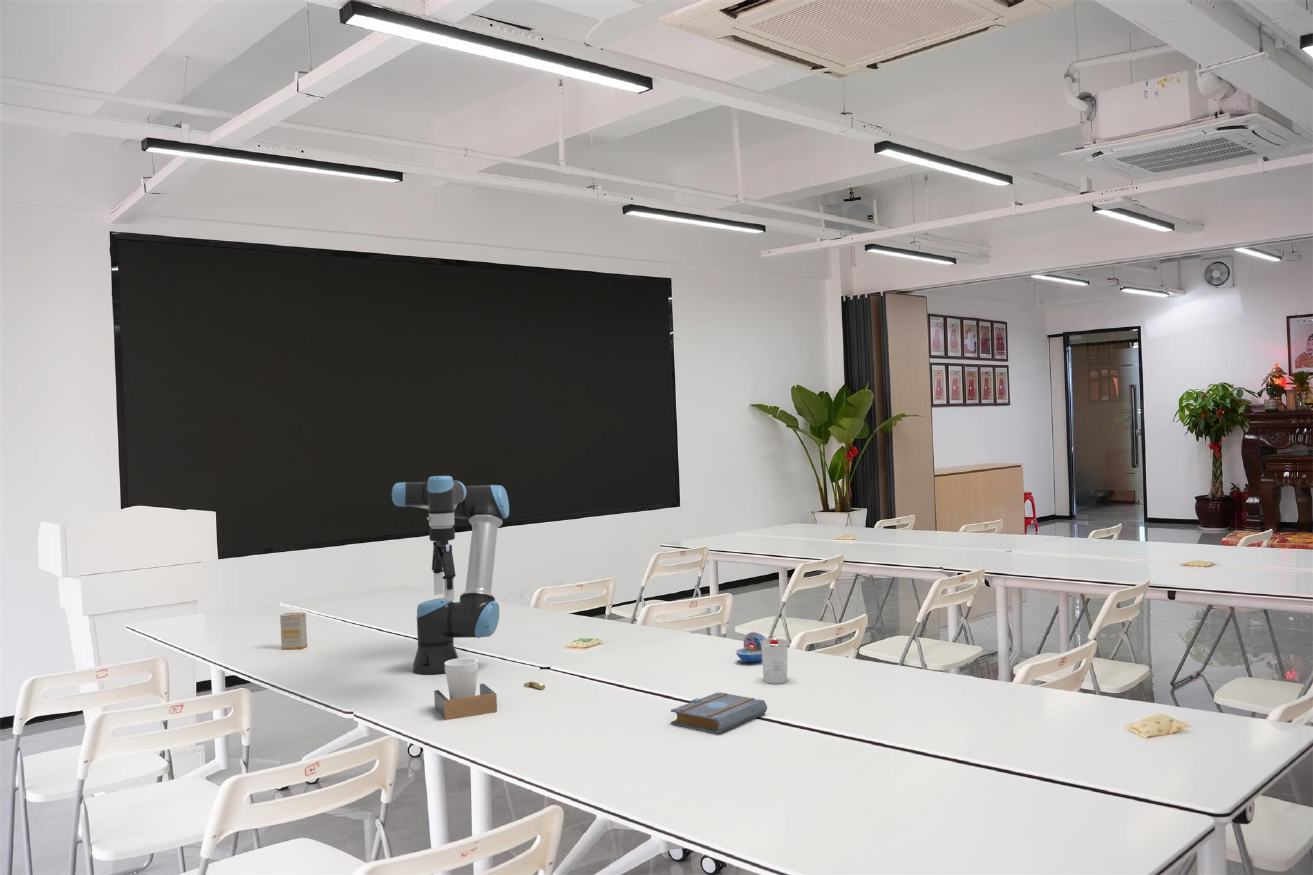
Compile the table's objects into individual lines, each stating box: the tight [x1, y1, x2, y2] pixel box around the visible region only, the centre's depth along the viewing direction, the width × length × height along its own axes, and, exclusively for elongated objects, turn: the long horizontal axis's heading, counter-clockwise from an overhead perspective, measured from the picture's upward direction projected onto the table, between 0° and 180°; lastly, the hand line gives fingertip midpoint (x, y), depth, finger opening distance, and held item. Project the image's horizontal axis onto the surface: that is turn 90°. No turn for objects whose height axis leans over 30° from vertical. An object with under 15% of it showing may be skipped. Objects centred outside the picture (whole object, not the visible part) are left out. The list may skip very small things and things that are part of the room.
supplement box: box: [279, 612, 308, 650], centre depth 366 cm, size 8×5×13 cm, turn 84°
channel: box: [433, 683, 498, 721], centre depth 273 cm, size 13×14×5 cm
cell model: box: [735, 631, 767, 663], centre depth 319 cm, size 10×12×10 cm
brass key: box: [523, 680, 546, 691], centre depth 295 cm, size 8×2×2 cm, turn 45°
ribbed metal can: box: [759, 638, 791, 685], centre depth 294 cm, size 10×8×12 cm
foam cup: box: [445, 657, 479, 700], centre depth 276 cm, size 10×9×13 cm
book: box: [670, 692, 768, 735], centre depth 256 cm, size 21×16×5 cm
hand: (444, 597), depth 293 cm, fingers open, 13 cm apart
